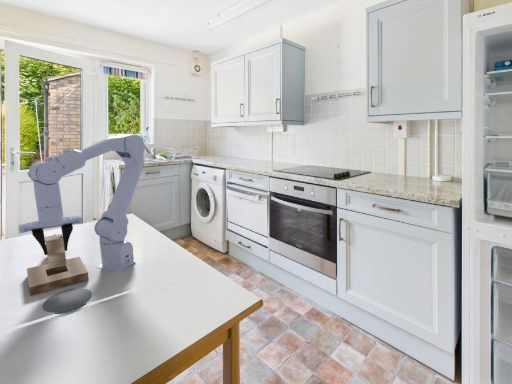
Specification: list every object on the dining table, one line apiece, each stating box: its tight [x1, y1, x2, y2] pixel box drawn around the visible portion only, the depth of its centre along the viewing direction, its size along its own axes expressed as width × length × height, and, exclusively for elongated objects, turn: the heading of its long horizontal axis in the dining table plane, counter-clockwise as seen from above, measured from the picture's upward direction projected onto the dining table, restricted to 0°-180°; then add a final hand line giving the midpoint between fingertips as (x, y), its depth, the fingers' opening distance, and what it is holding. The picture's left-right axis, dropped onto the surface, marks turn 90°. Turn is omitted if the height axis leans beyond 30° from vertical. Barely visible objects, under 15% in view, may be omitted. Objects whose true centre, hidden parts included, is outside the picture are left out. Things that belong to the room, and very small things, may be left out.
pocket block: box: [26, 256, 90, 297], centre depth 89 cm, size 14×14×3 cm
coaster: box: [42, 287, 93, 315], centre depth 78 cm, size 11×11×1 cm
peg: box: [44, 233, 67, 268], centre depth 84 cm, size 4×4×8 cm
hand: (55, 251), depth 84 cm, fingers closed on peg, 4 cm apart
